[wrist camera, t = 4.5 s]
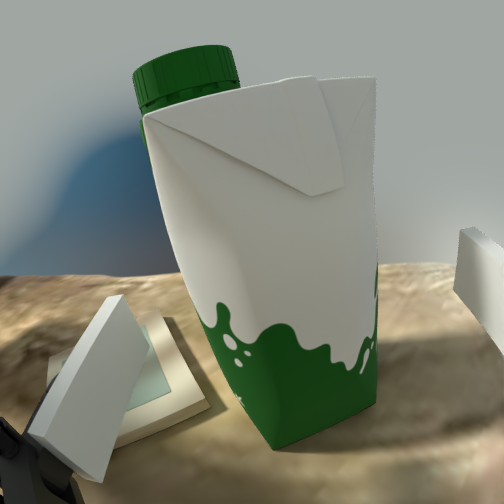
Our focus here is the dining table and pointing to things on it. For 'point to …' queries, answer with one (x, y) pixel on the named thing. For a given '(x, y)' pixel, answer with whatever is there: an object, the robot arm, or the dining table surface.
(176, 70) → the soya milk
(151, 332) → the plate
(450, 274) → the dining table surface
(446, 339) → the dining table surface
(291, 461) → the dining table surface
